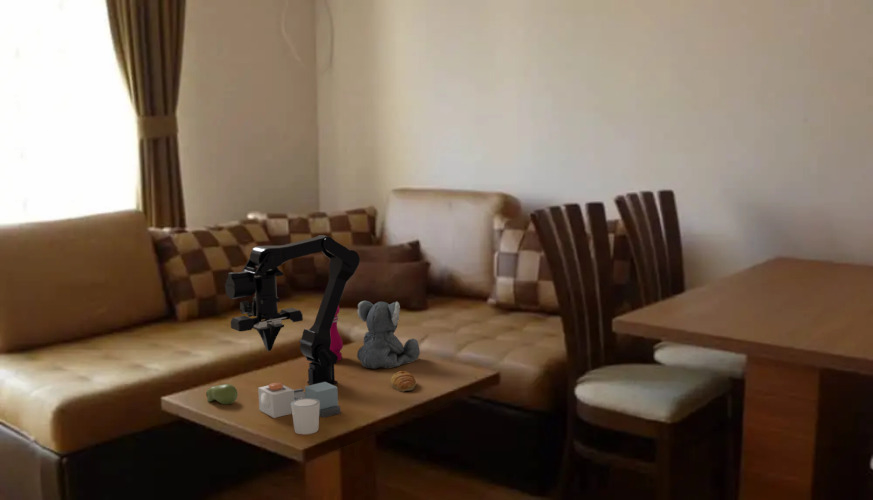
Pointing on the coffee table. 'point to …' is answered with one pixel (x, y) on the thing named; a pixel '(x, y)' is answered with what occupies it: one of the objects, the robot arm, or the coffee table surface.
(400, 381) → the pastry
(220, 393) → the green eggplant
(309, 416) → the shot glass
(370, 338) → the koala plush
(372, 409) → the coffee table surface
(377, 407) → the coffee table surface
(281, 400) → the cabinet
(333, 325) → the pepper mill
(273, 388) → the button
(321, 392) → the block
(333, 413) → the rail
